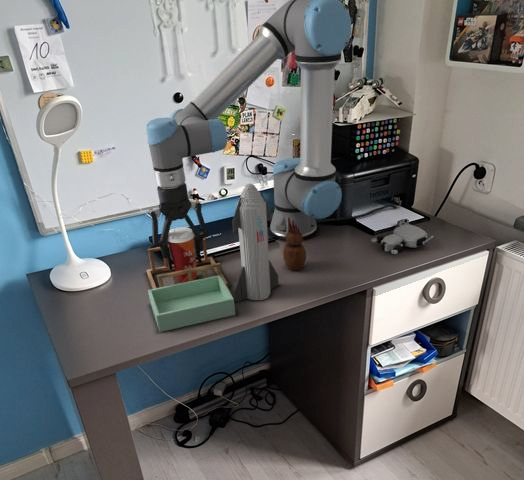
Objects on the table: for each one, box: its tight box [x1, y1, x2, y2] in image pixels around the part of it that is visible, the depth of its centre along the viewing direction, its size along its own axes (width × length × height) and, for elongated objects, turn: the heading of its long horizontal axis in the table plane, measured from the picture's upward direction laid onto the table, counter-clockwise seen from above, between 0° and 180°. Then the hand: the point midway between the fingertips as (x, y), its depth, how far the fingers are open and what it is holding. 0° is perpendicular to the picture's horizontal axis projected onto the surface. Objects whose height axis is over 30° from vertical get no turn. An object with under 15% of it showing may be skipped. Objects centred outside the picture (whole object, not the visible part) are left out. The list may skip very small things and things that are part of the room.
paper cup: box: [167, 226, 198, 283], centre depth 146 cm, size 8×8×14 cm
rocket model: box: [231, 183, 279, 303], centre depth 134 cm, size 14×7×30 cm, turn 124°
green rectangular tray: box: [147, 274, 236, 333], centre depth 136 cm, size 20×14×5 cm
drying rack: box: [145, 237, 229, 289], centre depth 149 cm, size 20×18×8 cm
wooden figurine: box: [282, 217, 307, 271], centre depth 149 cm, size 7×6×15 cm
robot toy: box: [371, 222, 434, 255], centre depth 159 cm, size 12×4×15 cm
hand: (185, 264), depth 148 cm, fingers closed on paper cup, 8 cm apart
